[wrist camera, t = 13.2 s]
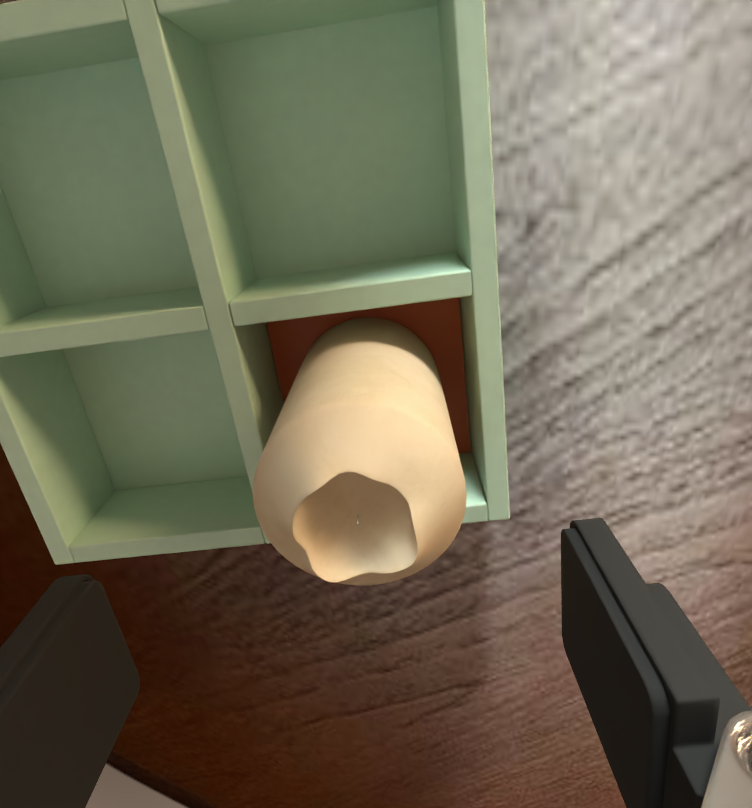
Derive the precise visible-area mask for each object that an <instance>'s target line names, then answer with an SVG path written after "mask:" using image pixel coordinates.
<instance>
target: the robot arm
mask: <svg viewBox="0 0 752 808" xmlns="http://www.w3.org/2000/svg"><path fill="white" fill-rule="evenodd" d="M561 589H562V638H563V644H564V648H565V651H566V654H567V657H568V659H569V662H570V665H571V667H572V670H573V672H574V675H575V677H576V680H577V682H578V685H579V687H580V690H581V693H582V695H583V698H584V700H585V703H586V705H587V708H588V710H589V713H590V716H591V718H592V721H593V723H594V726H595V728H596V731H597V733H598V736H599V738H600V741H601V744H602V746H603V749H604V751H605V754H606V756H607V759H608V761H609V764H610V767H611V769H612V772H613V774H614V777H615V779H616V782H617V784H618V787H619V789H620V792H621V795H622V797H623V800H624V802H625V805H626V807H627V808H752V709H751V708H750V707H749V705H748V704H747V702H746V701H745V699H744V698H743V697H742V695H741V694H740V692H739V691H738V689H737V688H736V687H735V685H734V684H733V682H732V681H731V679H730V678H729V677H728V675H727V674H726V672H725V671H724V669H723V668H722V667H721V665H720V664H719V662H718V661H717V659H716V658H715V656H714V655H713V654H712V652H711V651H710V649H709V648H708V646H707V645H706V644H705V642H704V641H703V639H702V638H701V636H700V635H699V634H698V632H697V631H696V629H695V628H694V626H693V625H692V624H691V622H690V621H689V619H688V618H687V616H686V615H685V614H684V612H683V611H682V609H681V608H680V606H679V605H678V604H677V602H676V601H675V599H674V598H673V596H672V595H671V594H670V592H669V591H668V590H667V589H666V587H665V586H664V585H662V584H660V583H653V584H645V582H644V580H643V579H642V577H641V576H640V574H639V573H638V571H637V570H636V568H635V567H634V565H633V564H632V562H631V561H630V559H629V558H628V556H627V555H626V553H625V551H624V550H623V548H622V547H621V545H620V544H619V542H618V541H617V539H616V538H615V536H614V535H613V533H612V532H611V530H610V529H609V527H608V525H607V524H606V522H605V521H604V520H603V519H602V518H593V519H584V520H575V521H572V522H571V523H570V529H563V530H562V531H561ZM139 687H140V677H139V674H138V671H137V669H136V666H135V664H134V661H133V659H132V656H131V654H130V652H129V649H128V647H127V644H126V642H125V639H124V637H123V634H122V632H121V629H120V627H119V625H118V622H117V620H116V617H115V615H114V612H113V610H112V607H111V605H110V602H109V600H108V598H107V595H106V593H105V590H104V588H103V586H102V584H101V582H99V581H96V580H94V578H93V577H92V576H91V575H88V574H84V575H74V576H65V577H60V578H57V579H56V580H55V581H54V582H53V583H52V584H51V585H50V587H49V588H48V589H47V590H46V592H45V593H44V594H43V595H42V597H41V598H40V599H39V600H38V602H37V603H36V604H35V605H34V607H33V608H32V609H31V610H30V612H29V613H28V614H27V615H26V616H25V618H24V619H23V620H22V621H21V623H20V624H19V625H18V626H17V628H16V629H15V630H14V631H13V633H12V634H11V635H10V636H9V638H8V639H7V640H6V641H5V643H4V644H3V645H2V646H1V648H0V808H85V807H86V804H87V802H88V800H89V798H90V796H91V793H92V792H93V789H94V787H95V785H96V783H97V781H98V779H99V776H100V774H101V772H102V770H103V768H104V766H105V764H106V762H107V759H108V757H109V755H110V753H111V751H112V749H113V747H114V744H115V742H116V740H117V738H118V736H119V734H120V732H121V729H122V727H123V725H124V723H125V721H126V719H127V717H128V714H129V712H130V710H131V708H132V706H133V704H134V702H135V699H136V697H137V695H138V692H139Z"/></svg>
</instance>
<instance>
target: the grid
mask: <svg viewBox="0 0 752 808" xmlns="http://www.w3.org/2000/svg"><path fill="white" fill-rule="evenodd" d="M366 317H373V318H382V319H386V320H390V321H393V322H395V323H398V324H400V325H402V326H404V327H406V328H407V329H409V330H410V331H411V332H413V333H414V334H415V335H416V336H417V337H418V338H419V339H421V340H422V342H423V343H424V344H425V345H426V347H427V348H428V349H429V351H430V353H431V354H432V356H433V358H434V361H435V363H436V366H437V369H438V373H439V377H440V380H441V384H442V389H443V393H444V397H445V401H446V405H447V409H448V413H449V417H450V421H451V425H452V429H453V433H454V437H455V441H456V445H457V449H458V453H459V457H460V462H461V466H462V470H463V474H464V478H465V483H466V492H467V498H466V509H465V514H464V518H463V521H462V524H465V523H475V522H485V521H487V520H489V521H496V520H506V519H510V503H509V483H508V463H507V443H506V423H505V403H504V382H503V362H502V342H501V322H500V302H499V282H498V261H497V241H496V221H495V201H494V181H493V161H492V141H491V120H490V100H489V80H488V60H487V40H486V20H485V0H19V1H14V2H8V3H3V4H0V443H1V446H2V448H3V450H4V452H5V454H6V457H7V459H8V461H9V463H10V466H11V468H12V470H13V472H14V474H15V477H16V479H17V481H18V483H19V485H20V488H21V490H22V492H23V494H24V497H25V499H26V501H27V503H28V505H29V508H30V510H31V512H32V514H33V516H34V519H35V521H36V523H37V525H38V528H39V530H40V532H41V534H42V536H43V539H44V541H45V543H46V545H47V547H48V550H49V552H50V554H51V556H52V559H53V561H54V563H55V564H56V565H58V564H68V563H74V562H76V563H77V562H87V561H97V560H107V559H117V558H127V557H137V556H147V555H157V554H167V553H177V552H187V551H197V550H207V549H217V548H227V547H237V546H247V545H257V544H264V543H265V542H266V543H271V542H270V541H269V540H268V538H267V537H266V535H265V533H264V532H263V530H262V528H261V526H260V523H259V521H258V519H257V515H256V512H255V508H254V501H253V482H254V476H255V471H256V468H257V465H258V462H259V460H260V457H261V455H262V453H263V451H264V448H265V446H266V444H267V441H268V439H269V437H270V435H271V432H272V430H273V428H274V426H275V423H276V421H277V419H278V417H279V414H280V412H281V410H282V407H283V405H284V403H285V401H286V398H287V396H288V394H289V392H290V389H291V387H292V385H293V383H294V380H295V378H296V376H297V374H298V371H299V369H300V367H301V365H302V363H303V361H304V359H305V357H306V355H307V353H308V351H309V349H310V348H311V347H312V345H313V344H314V343H315V341H316V340H317V339H318V338H319V337H320V336H321V335H323V334H324V333H325V332H326V331H328V330H329V329H331V328H333V327H334V326H336V325H338V324H340V323H342V322H345V321H348V320H352V319H357V318H366Z"/></svg>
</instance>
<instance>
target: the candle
mask: <svg viewBox="0 0 752 808" xmlns="http://www.w3.org/2000/svg"><path fill="white" fill-rule="evenodd" d="M466 498H467V492H466V483H465V478H464V474H463V470H462V466H461V462H460V457H459V453H458V449H457V445H456V441H455V437H454V433H453V429H452V425H451V421H450V417H449V413H448V409H447V405H446V401H445V397H444V393H443V389H442V384H441V380H440V377H439V373H438V369H437V366H436V363H435V361H434V358H433V356H432V354H431V353H430V351H429V349H428V348H427V347H426V345H425V344H424V343H423V342H422V340H421V339H419V338H418V337H417V336H416V335H415V334H414V333H413V332H411V331H410V330H409V329H407V328H406V327H404V326H402V325H400V324H398V323H395V322H393V321H390V320H386V319H382V318H373V317H366V318H357V319H352V320H348V321H345V322H342V323H340V324H338V325H336V326H334V327H333V328H331V329H329V330H328V331H326V332H325V333H324V334H323V335H321V336H320V337H319V338H318V339H317V340H316V341H315V343H314V344H313V345H312V347H311V348H310V349H309V351H308V353H307V355H306V357H305V359H304V361H303V363H302V365H301V367H300V369H299V371H298V374H297V376H296V378H295V380H294V383H293V385H292V387H291V389H290V392H289V394H288V396H287V398H286V401H285V403H284V405H283V407H282V410H281V412H280V414H279V417H278V419H277V421H276V423H275V426H274V428H273V430H272V432H271V435H270V437H269V439H268V441H267V444H266V446H265V448H264V451H263V453H262V455H261V457H260V460H259V462H258V465H257V468H256V471H255V476H254V482H253V501H254V508H255V512H256V515H257V519H258V521H259V523H260V526H261V528H262V530H263V532H264V533H265V535H266V537H267V538H268V540H269V541H270V542H271V544H272V545H273V546H274V547H275V548H276V550H277V551H278V552H279V553H281V554H282V555H283V556H284V557H285V558H286V559H287V560H289V561H290V562H291V563H293V564H294V565H295V566H297V567H299V568H300V569H302V570H304V571H306V572H307V573H310V574H312V575H314V576H316V577H319V578H320V579H322V580H324V581H326V582H329V583H341V584H348V585H376V584H383V583H388V582H392V581H396V580H399V579H402V578H405V577H408V576H410V575H412V574H414V573H416V572H419V571H420V570H422V569H423V568H425V567H427V566H428V565H430V564H431V563H432V562H433V561H435V560H436V559H437V558H438V557H439V556H440V555H441V554H442V553H443V552H444V551H445V550H446V549H447V548H448V547H449V545H450V544H451V543H452V541H453V540H454V538H455V536H456V535H457V533H458V531H459V529H460V526H461V524H462V521H463V518H464V514H465V509H466Z"/></svg>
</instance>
